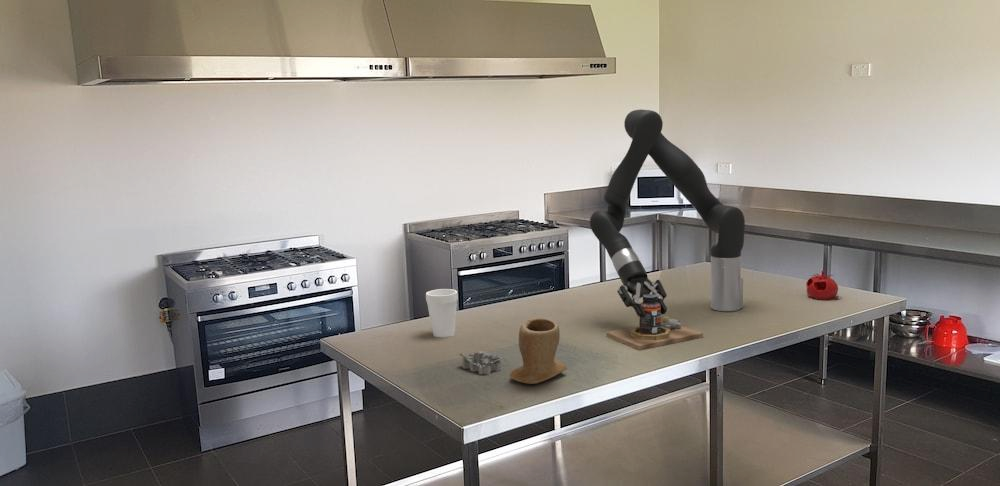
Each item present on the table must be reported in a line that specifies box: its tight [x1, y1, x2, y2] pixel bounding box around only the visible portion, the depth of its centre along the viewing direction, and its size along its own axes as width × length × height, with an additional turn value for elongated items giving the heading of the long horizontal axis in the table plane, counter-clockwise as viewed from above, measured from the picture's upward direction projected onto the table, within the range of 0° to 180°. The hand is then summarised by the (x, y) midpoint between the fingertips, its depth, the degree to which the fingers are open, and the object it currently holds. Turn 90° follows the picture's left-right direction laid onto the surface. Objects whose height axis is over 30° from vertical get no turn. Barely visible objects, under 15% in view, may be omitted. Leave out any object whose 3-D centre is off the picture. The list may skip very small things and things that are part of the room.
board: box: [605, 316, 704, 351], centre depth 223 cm, size 22×16×4 cm
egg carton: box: [459, 350, 503, 375], centre depth 202 cm, size 11×8×4 cm
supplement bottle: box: [639, 293, 662, 335], centre depth 220 cm, size 6×6×11 cm
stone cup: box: [509, 317, 568, 385], centre depth 191 cm, size 15×12×15 cm
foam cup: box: [425, 288, 459, 338], centre depth 234 cm, size 10×9×13 cm
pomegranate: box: [805, 270, 839, 300], centre depth 259 cm, size 10×10×9 cm
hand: (653, 314), depth 219 cm, fingers open, 6 cm apart
